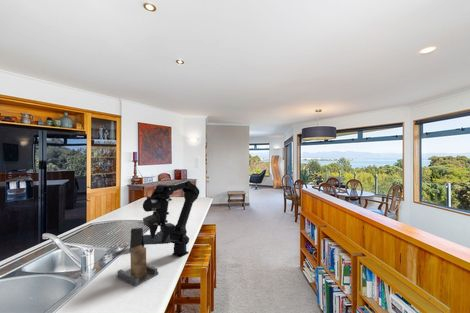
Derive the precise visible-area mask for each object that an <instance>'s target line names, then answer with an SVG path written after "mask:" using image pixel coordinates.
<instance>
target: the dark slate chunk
mask: <svg viewBox="0 0 470 313" xmlns="http://www.w3.org/2000/svg"><path fill="white" fill-rule="evenodd" d="M161 235H162V233H161V232H160V231H156V233H155V236H154V238H153V239H151V235H150V234H143V237H144V244H145V245H162V244H161ZM169 236H170V235H169ZM169 236H168V237H167V239H166V241H165V242H164V244H171V240H170V237H169ZM164 244H163V245H164Z"/></svg>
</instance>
